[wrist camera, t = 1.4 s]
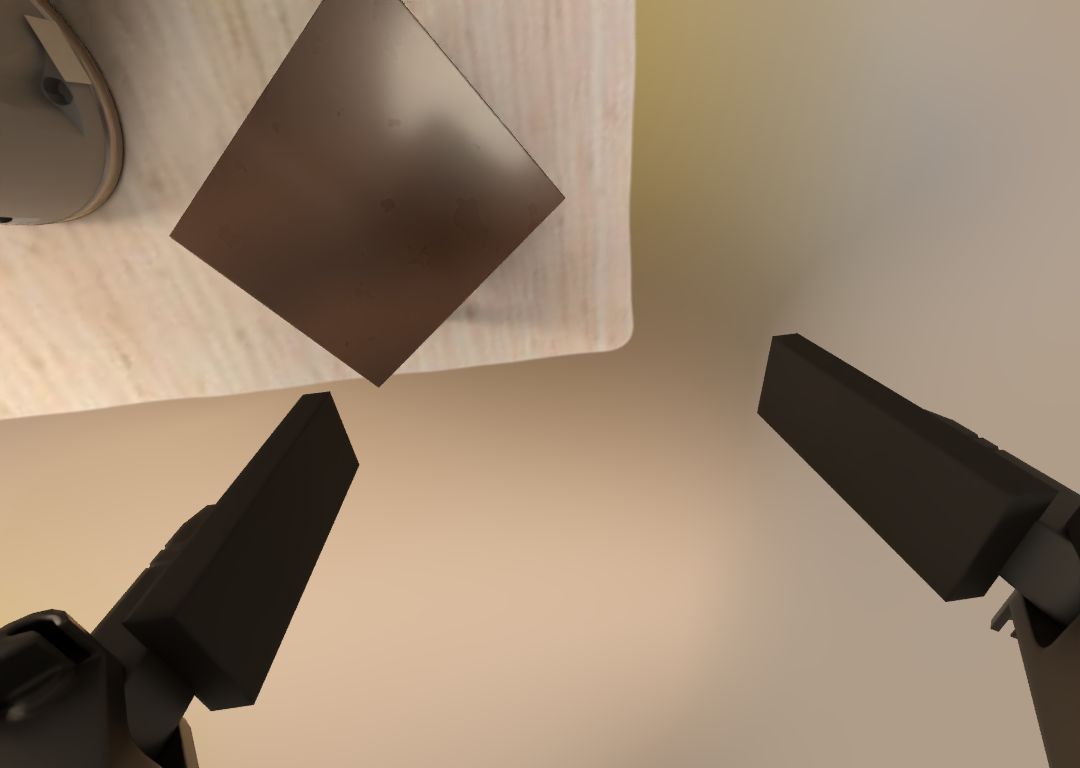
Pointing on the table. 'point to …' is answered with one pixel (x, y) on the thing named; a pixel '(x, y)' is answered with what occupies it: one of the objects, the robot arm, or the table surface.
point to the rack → (366, 189)
